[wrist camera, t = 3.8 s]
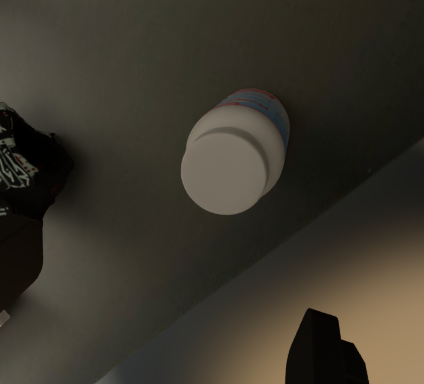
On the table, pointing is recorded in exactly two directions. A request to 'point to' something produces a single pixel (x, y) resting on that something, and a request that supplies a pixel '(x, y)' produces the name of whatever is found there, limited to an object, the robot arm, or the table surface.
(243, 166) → the pill bottle
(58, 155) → the crumpled patterned cloth
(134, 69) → the table surface
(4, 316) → the board
